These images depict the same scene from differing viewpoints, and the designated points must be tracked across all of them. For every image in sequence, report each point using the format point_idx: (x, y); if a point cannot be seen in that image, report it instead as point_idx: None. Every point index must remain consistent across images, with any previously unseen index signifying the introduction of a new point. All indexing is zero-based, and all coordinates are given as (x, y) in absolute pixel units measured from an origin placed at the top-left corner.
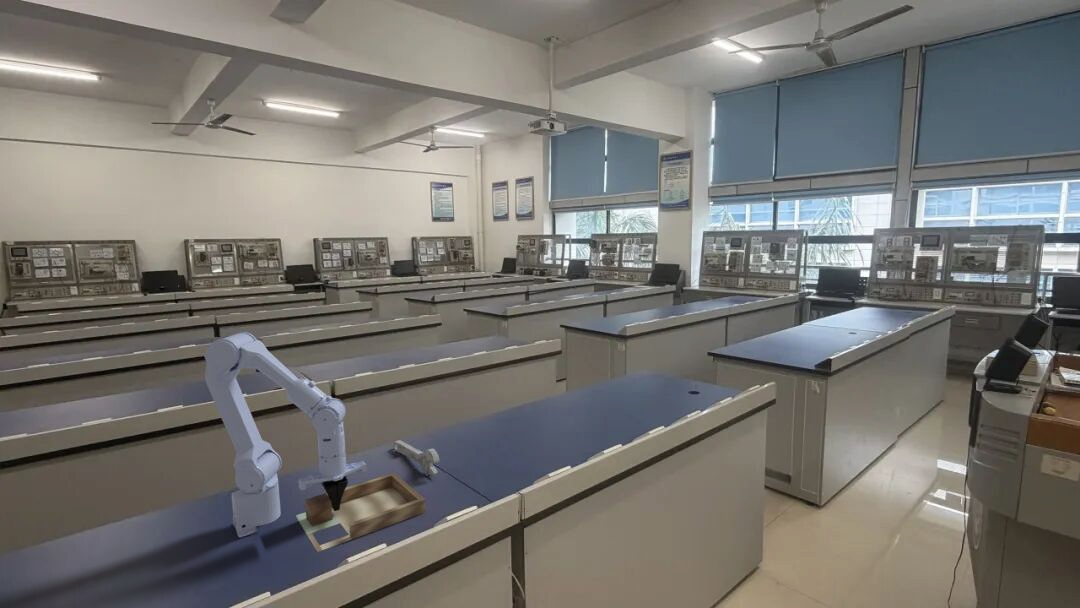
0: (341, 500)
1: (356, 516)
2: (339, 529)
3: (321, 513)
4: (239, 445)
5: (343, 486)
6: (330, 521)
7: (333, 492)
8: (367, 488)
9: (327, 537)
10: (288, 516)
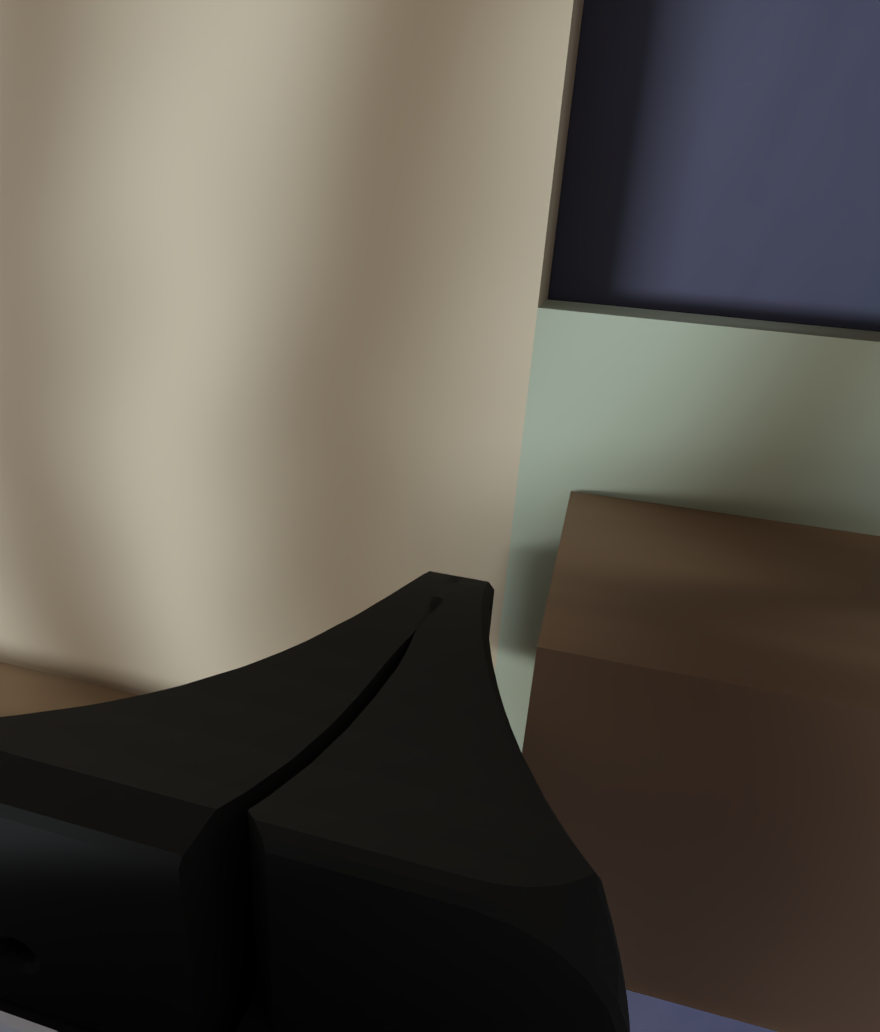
0: None
1: (295, 307)
2: (571, 278)
3: (745, 580)
4: None
5: (118, 734)
6: (618, 461)
7: (425, 758)
8: None
9: (803, 184)
10: None
